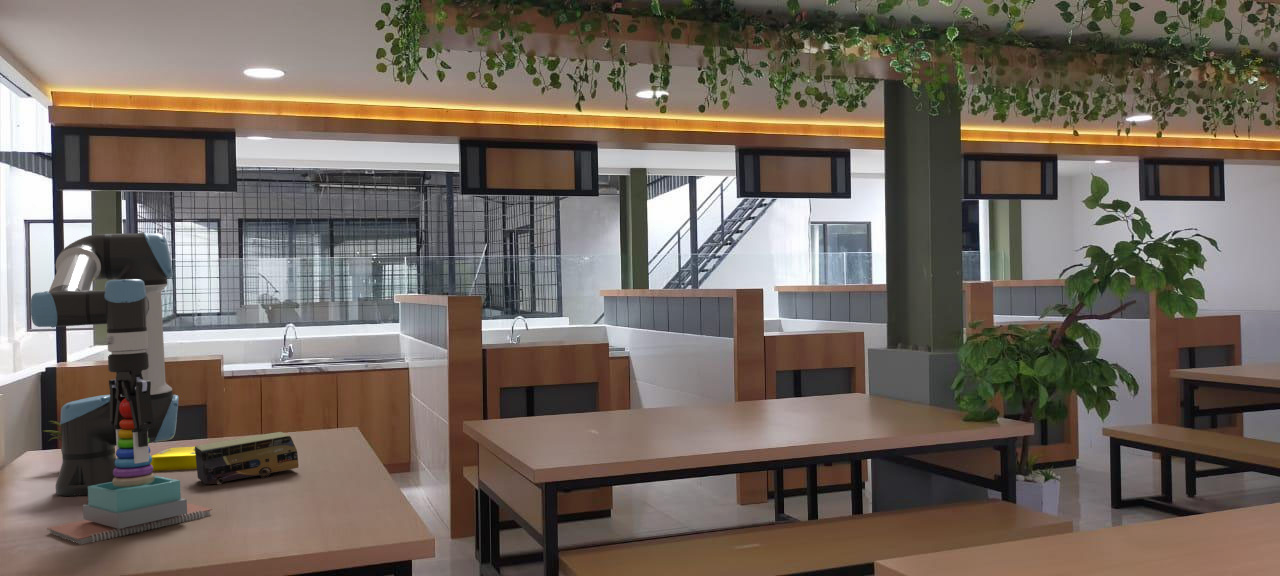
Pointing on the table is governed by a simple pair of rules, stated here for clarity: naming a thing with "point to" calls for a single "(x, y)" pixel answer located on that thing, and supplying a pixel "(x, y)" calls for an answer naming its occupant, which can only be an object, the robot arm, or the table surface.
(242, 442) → the toy bus
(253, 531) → the table surface
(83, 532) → the notebook
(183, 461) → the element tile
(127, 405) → the stacking toy
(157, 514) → the brick base
